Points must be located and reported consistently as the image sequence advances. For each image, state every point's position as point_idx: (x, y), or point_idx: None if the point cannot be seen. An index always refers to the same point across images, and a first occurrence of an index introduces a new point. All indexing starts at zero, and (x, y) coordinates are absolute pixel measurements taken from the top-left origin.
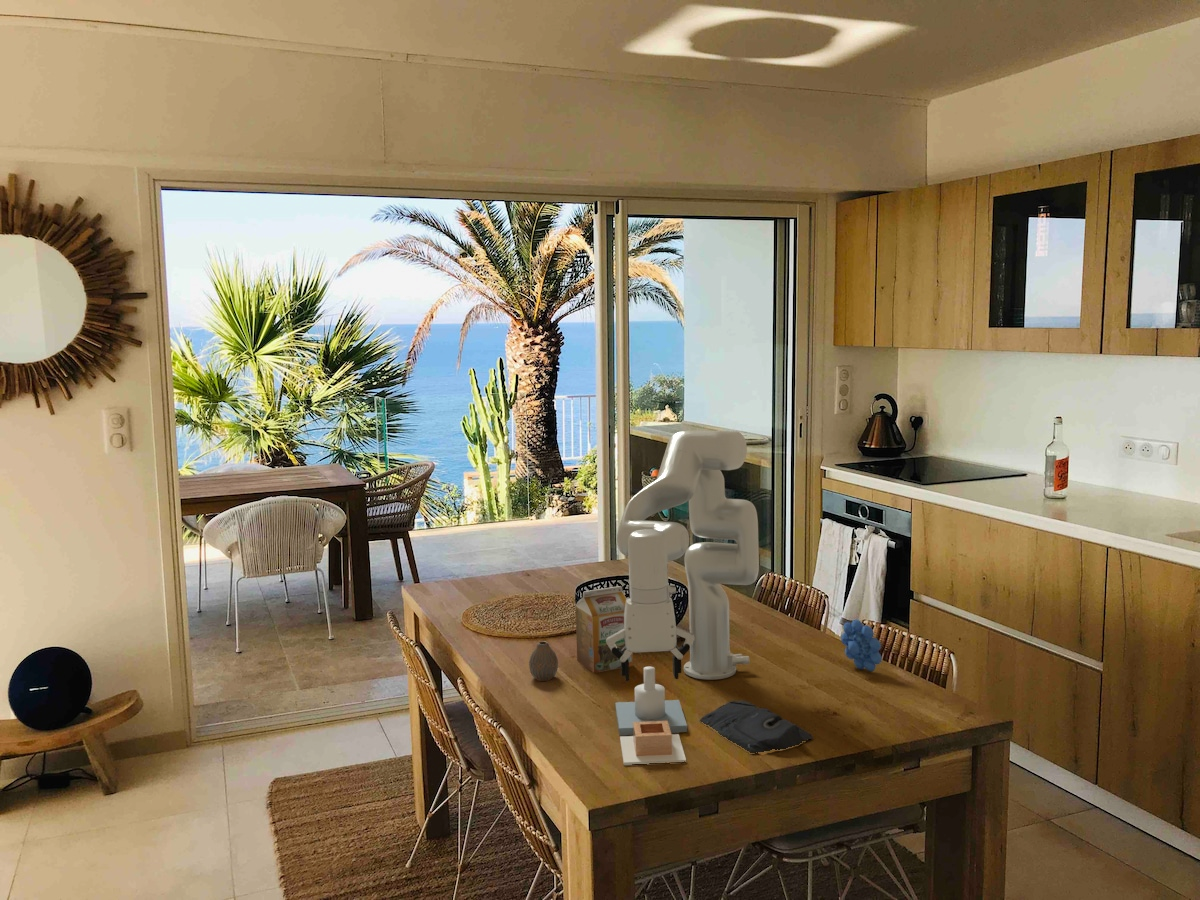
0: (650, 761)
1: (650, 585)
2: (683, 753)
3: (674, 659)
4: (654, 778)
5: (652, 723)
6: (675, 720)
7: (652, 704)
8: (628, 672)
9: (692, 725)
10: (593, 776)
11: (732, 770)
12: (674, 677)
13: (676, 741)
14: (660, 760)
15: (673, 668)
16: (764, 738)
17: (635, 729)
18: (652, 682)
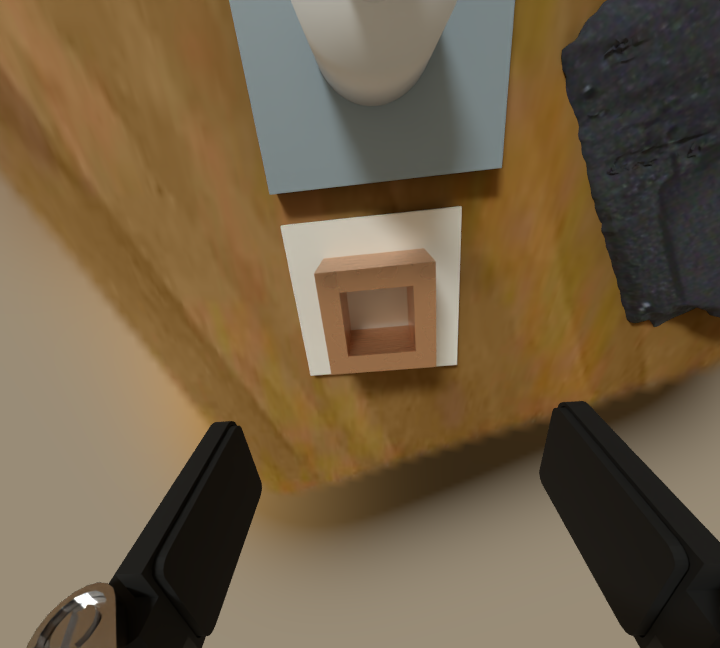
0: None
1: None
2: (455, 333)
3: (642, 627)
4: (379, 420)
5: (381, 286)
6: (467, 116)
7: (385, 88)
8: (238, 545)
9: (524, 98)
10: (255, 412)
11: (550, 393)
12: (542, 463)
13: (447, 261)
14: None
15: (577, 468)
16: (711, 301)
17: (327, 329)
18: None
